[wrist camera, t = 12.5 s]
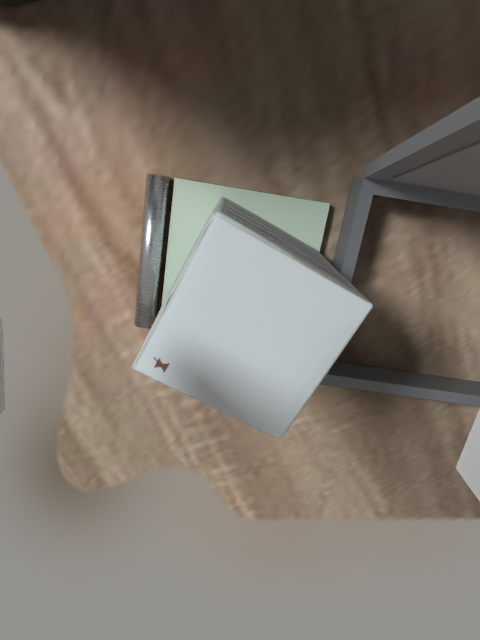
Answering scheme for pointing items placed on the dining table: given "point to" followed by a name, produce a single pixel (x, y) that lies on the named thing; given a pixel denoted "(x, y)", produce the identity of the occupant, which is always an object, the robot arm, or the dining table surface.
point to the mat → (281, 211)
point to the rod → (151, 249)
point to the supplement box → (251, 321)
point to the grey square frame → (345, 265)
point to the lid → (437, 156)
